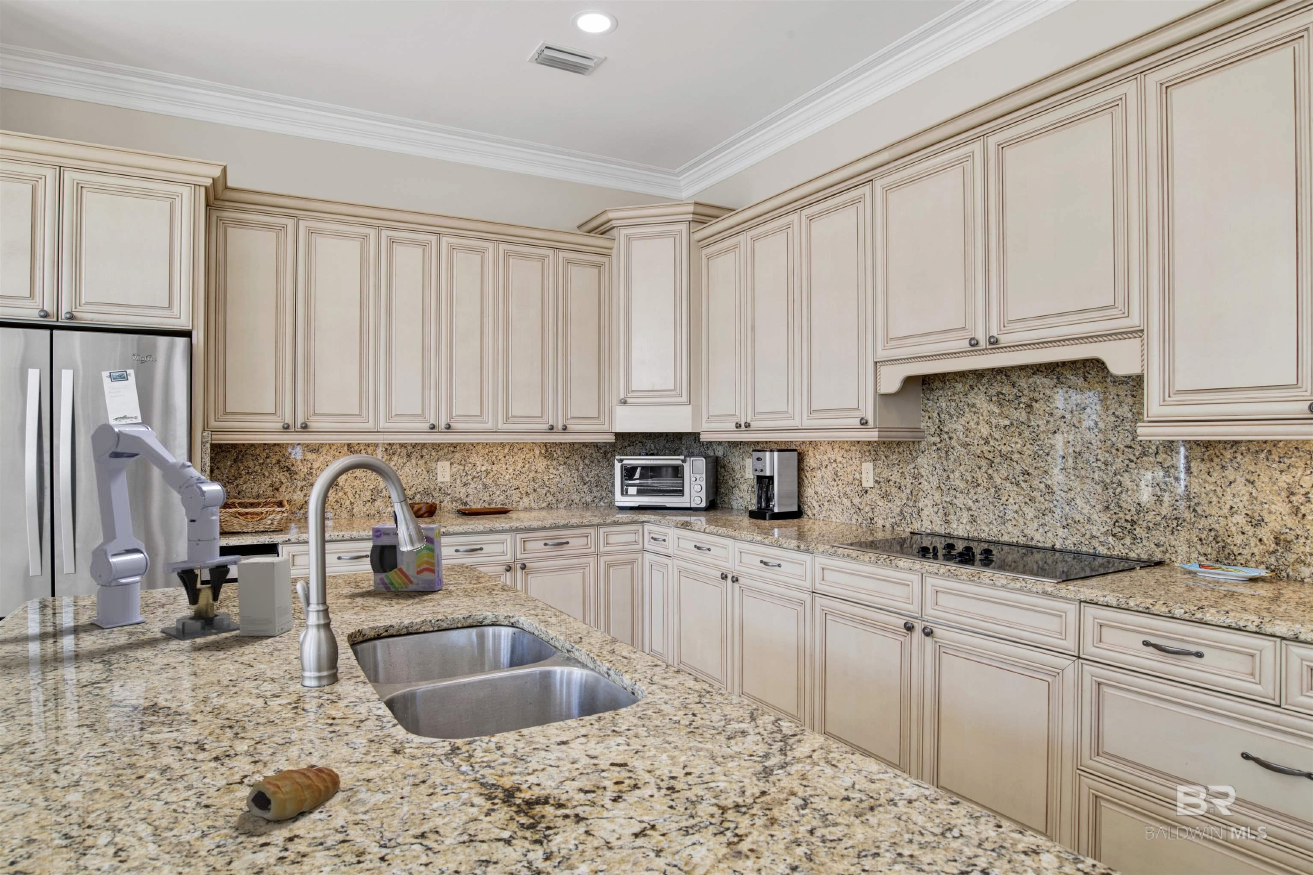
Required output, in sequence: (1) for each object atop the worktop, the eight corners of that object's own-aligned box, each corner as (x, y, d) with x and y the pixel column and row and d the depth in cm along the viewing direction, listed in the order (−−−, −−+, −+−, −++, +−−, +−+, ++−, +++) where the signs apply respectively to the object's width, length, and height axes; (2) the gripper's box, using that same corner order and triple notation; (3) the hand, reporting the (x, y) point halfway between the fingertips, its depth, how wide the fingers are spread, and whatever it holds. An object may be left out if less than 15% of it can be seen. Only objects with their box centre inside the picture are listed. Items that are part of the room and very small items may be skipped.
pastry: (318, 779, 89) (318, 747, 89) (354, 793, 85) (354, 760, 85) (240, 813, 81) (240, 778, 81) (277, 830, 77) (277, 793, 77)
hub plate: (161, 630, 157) (161, 618, 157) (222, 619, 166) (222, 607, 166) (183, 640, 149) (183, 626, 149) (245, 628, 159) (245, 615, 159)
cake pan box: (368, 590, 199) (368, 524, 199) (378, 586, 204) (378, 522, 204) (435, 593, 196) (435, 526, 196) (443, 589, 201) (444, 524, 201)
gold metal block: (189, 615, 157) (190, 587, 157) (206, 612, 160) (207, 584, 160) (203, 618, 155) (203, 589, 155) (220, 614, 158) (220, 586, 158)
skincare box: (293, 629, 158) (293, 556, 158) (274, 637, 152) (274, 561, 152) (256, 628, 159) (256, 556, 159) (236, 636, 152) (236, 561, 152)
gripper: (172, 544, 150) (172, 611, 150) (247, 537, 161) (247, 599, 161) (159, 541, 154) (159, 606, 154) (233, 534, 165) (233, 595, 165)
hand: (203, 602), depth 158 cm, fingers closed on gold metal block, 4 cm apart
